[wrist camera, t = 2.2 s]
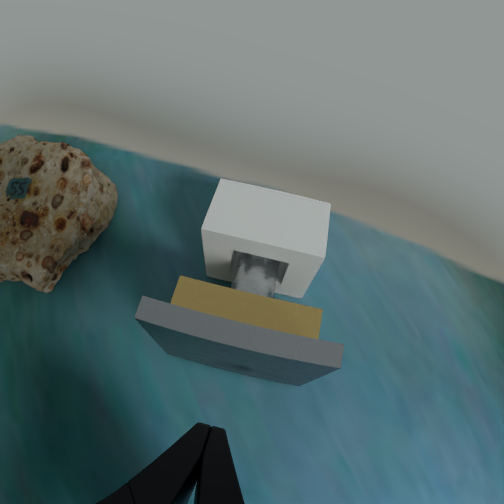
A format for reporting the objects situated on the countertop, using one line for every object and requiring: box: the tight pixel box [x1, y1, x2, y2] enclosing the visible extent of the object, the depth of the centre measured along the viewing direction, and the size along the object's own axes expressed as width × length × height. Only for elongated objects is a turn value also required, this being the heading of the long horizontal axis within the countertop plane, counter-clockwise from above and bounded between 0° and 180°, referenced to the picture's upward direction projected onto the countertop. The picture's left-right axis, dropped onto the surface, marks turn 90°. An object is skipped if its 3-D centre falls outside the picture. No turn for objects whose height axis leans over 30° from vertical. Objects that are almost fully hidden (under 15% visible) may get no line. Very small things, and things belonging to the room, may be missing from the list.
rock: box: [0, 135, 118, 293], centre depth 24 cm, size 21×14×10 cm
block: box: [201, 179, 331, 298], centre depth 24 cm, size 4×8×7 cm, turn 77°
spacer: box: [170, 275, 323, 339], centre depth 21 cm, size 2×9×6 cm, turn 77°
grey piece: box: [134, 252, 344, 386], centre depth 20 cm, size 9×10×9 cm
